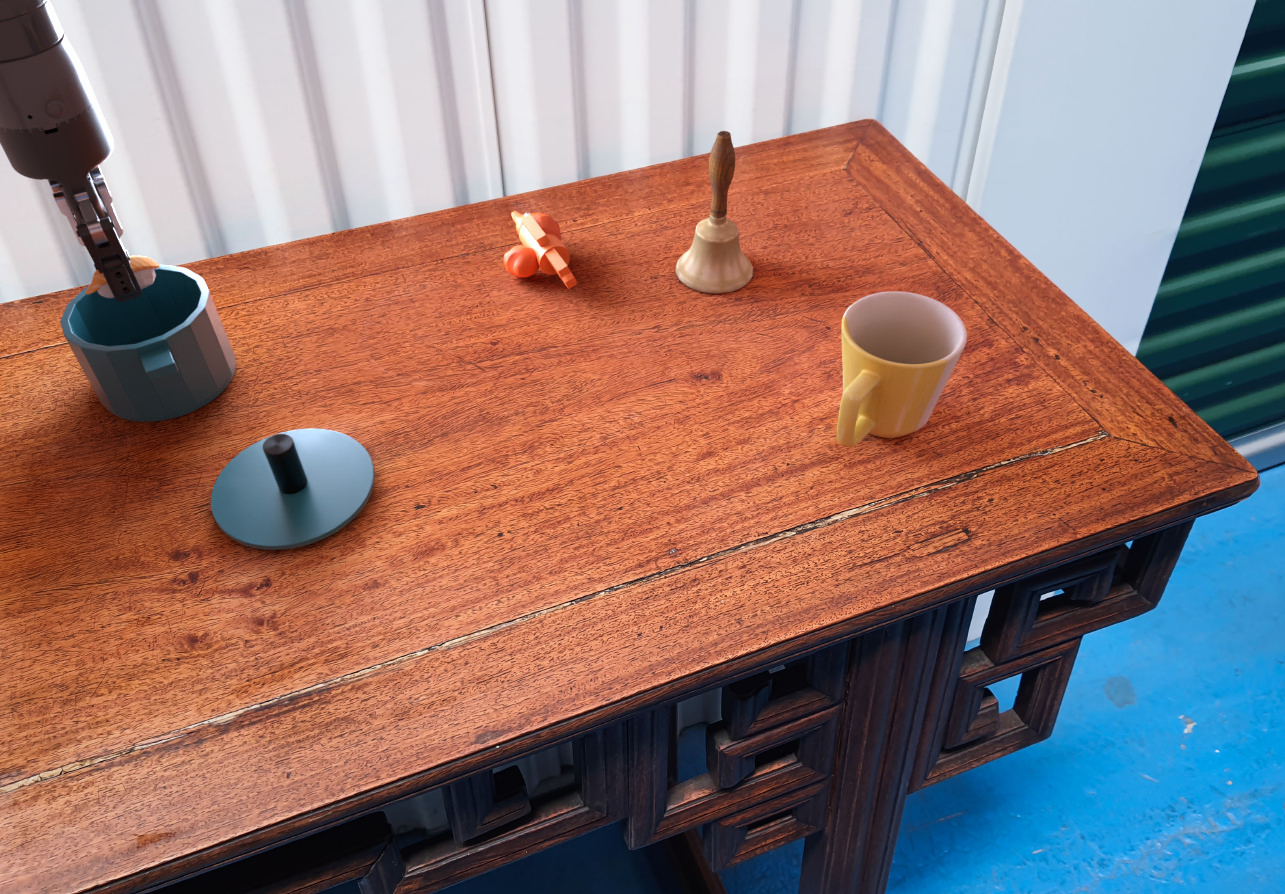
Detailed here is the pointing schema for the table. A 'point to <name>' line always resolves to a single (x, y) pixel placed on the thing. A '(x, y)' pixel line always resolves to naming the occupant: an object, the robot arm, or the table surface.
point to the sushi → (142, 272)
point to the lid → (292, 489)
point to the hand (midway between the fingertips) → (125, 287)
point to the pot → (152, 347)
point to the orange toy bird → (539, 248)
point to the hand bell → (716, 234)
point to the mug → (895, 363)
